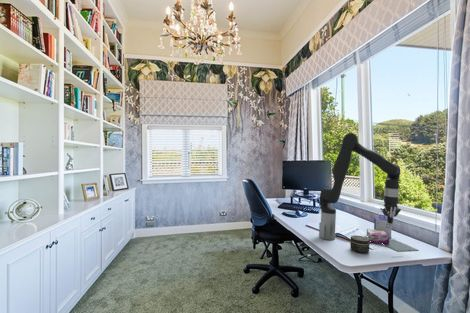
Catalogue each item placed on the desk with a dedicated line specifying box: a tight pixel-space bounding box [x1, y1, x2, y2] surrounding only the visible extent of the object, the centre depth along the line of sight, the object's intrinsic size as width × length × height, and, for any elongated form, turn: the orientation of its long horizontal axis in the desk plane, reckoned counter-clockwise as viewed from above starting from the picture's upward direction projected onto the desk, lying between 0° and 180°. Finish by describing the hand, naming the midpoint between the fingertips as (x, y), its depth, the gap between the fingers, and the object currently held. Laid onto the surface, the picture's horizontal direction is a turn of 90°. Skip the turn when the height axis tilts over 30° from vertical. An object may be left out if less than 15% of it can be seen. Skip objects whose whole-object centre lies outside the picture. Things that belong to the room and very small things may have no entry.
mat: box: [383, 238, 419, 253], centre depth 148 cm, size 15×18×1 cm
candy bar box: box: [366, 228, 390, 244], centre depth 156 cm, size 11×5×16 cm
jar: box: [349, 234, 371, 255], centre depth 137 cm, size 10×10×8 cm
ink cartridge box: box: [373, 214, 393, 239], centre depth 165 cm, size 10×6×14 cm, turn 76°
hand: (390, 223), depth 146 cm, fingers closed
